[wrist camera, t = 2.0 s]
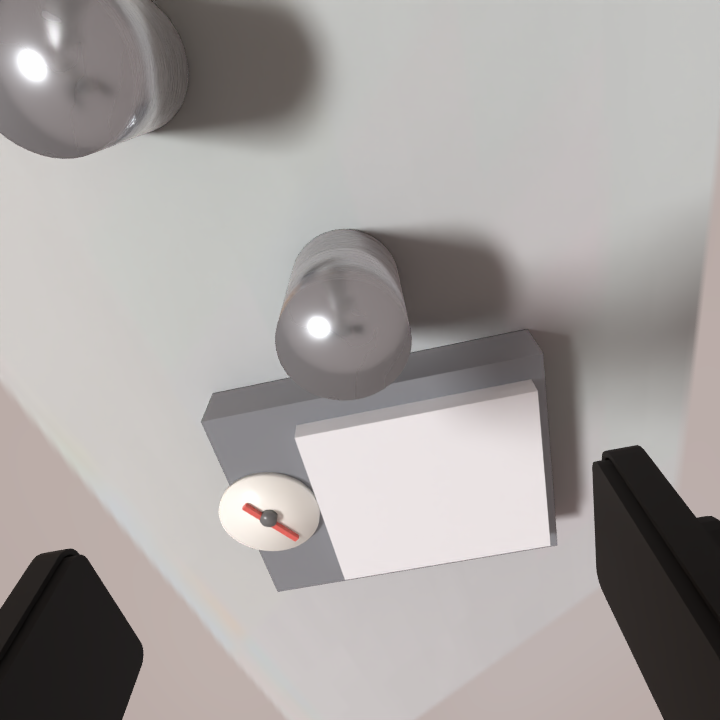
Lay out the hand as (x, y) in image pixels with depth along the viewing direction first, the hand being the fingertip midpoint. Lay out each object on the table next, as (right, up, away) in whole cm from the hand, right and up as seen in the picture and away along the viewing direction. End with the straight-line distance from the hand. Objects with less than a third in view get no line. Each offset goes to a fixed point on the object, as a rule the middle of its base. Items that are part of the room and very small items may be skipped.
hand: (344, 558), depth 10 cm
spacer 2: (0, +7, +10) cm, 12 cm away
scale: (+2, -1, +14) cm, 15 cm away
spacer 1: (-7, +13, +7) cm, 16 cm away
